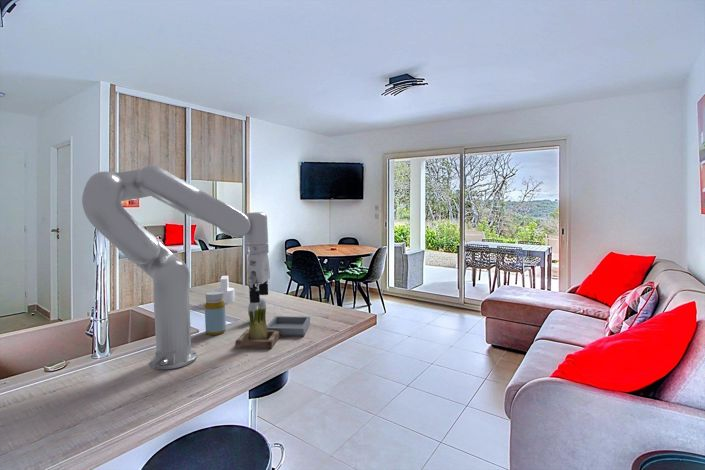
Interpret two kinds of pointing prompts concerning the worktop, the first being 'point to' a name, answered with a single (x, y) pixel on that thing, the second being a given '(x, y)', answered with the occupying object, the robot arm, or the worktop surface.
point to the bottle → (215, 313)
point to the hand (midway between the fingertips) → (259, 298)
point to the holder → (258, 344)
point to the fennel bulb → (258, 324)
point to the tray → (290, 325)
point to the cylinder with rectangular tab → (226, 289)
